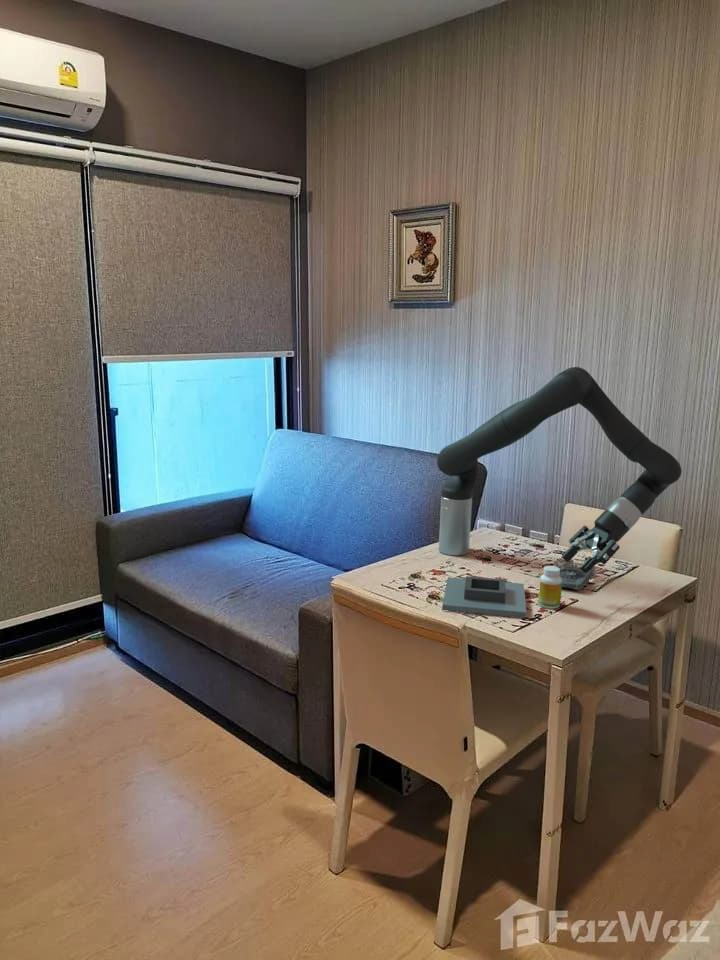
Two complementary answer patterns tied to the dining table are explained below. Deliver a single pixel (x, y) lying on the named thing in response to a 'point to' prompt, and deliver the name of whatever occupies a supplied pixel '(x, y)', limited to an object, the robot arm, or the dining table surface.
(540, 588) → the supplement bottle
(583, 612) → the dining table surface
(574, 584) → the graphics card
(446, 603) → the socket board
